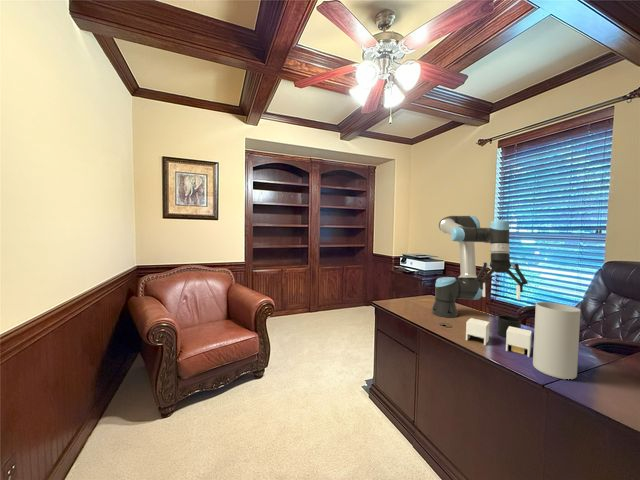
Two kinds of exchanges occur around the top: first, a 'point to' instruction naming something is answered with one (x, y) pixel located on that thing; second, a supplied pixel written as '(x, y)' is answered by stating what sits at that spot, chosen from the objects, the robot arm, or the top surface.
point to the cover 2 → (518, 338)
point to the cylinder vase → (556, 339)
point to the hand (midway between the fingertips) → (500, 298)
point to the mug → (507, 324)
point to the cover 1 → (477, 329)
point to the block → (518, 349)
